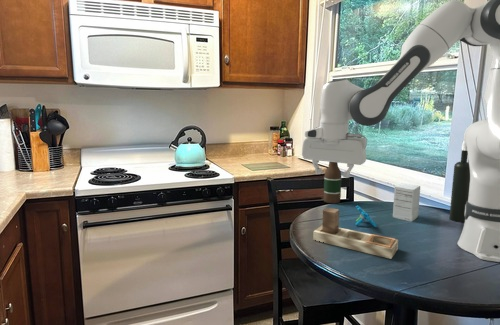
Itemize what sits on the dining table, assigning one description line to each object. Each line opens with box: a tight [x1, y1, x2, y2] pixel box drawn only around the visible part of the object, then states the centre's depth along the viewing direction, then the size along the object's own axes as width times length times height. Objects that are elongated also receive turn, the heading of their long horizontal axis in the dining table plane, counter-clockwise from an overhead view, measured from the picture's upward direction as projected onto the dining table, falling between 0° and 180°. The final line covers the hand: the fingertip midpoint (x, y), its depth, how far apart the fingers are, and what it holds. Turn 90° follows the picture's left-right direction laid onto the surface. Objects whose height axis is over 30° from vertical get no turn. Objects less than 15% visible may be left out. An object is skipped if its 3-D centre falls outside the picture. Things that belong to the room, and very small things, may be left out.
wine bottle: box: [449, 140, 470, 223], centre depth 128 cm, size 6×6×30 cm
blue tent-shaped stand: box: [355, 205, 378, 228], centre depth 126 cm, size 11×6×10 cm
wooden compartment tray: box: [312, 225, 399, 260], centre depth 109 cm, size 24×8×3 cm, turn 55°
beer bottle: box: [323, 162, 342, 204], centre depth 154 cm, size 8×8×24 cm
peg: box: [321, 207, 340, 235], centre depth 113 cm, size 4×4×10 cm
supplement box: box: [392, 182, 421, 222], centre depth 133 cm, size 7×7×13 cm
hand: (332, 175), depth 110 cm, fingers open, 8 cm apart
